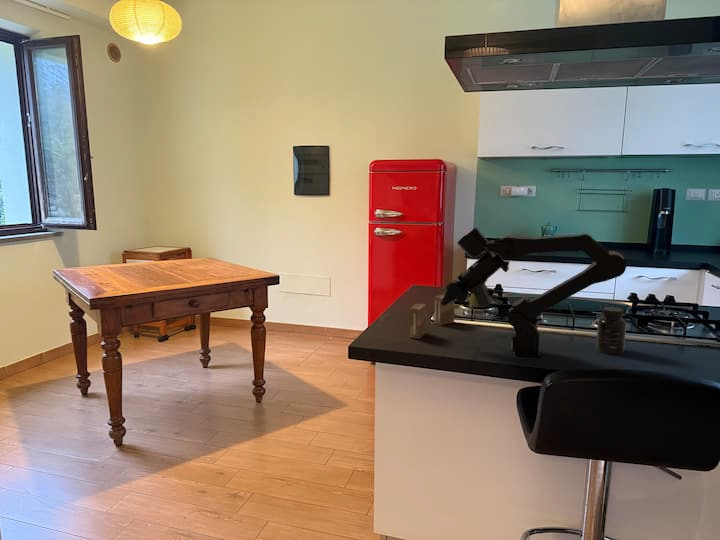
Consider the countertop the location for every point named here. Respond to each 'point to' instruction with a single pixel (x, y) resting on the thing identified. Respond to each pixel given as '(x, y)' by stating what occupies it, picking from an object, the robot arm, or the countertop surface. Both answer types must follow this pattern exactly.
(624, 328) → the supplement bottle
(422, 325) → the block one
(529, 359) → the countertop surface
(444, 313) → the block two
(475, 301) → the cork
